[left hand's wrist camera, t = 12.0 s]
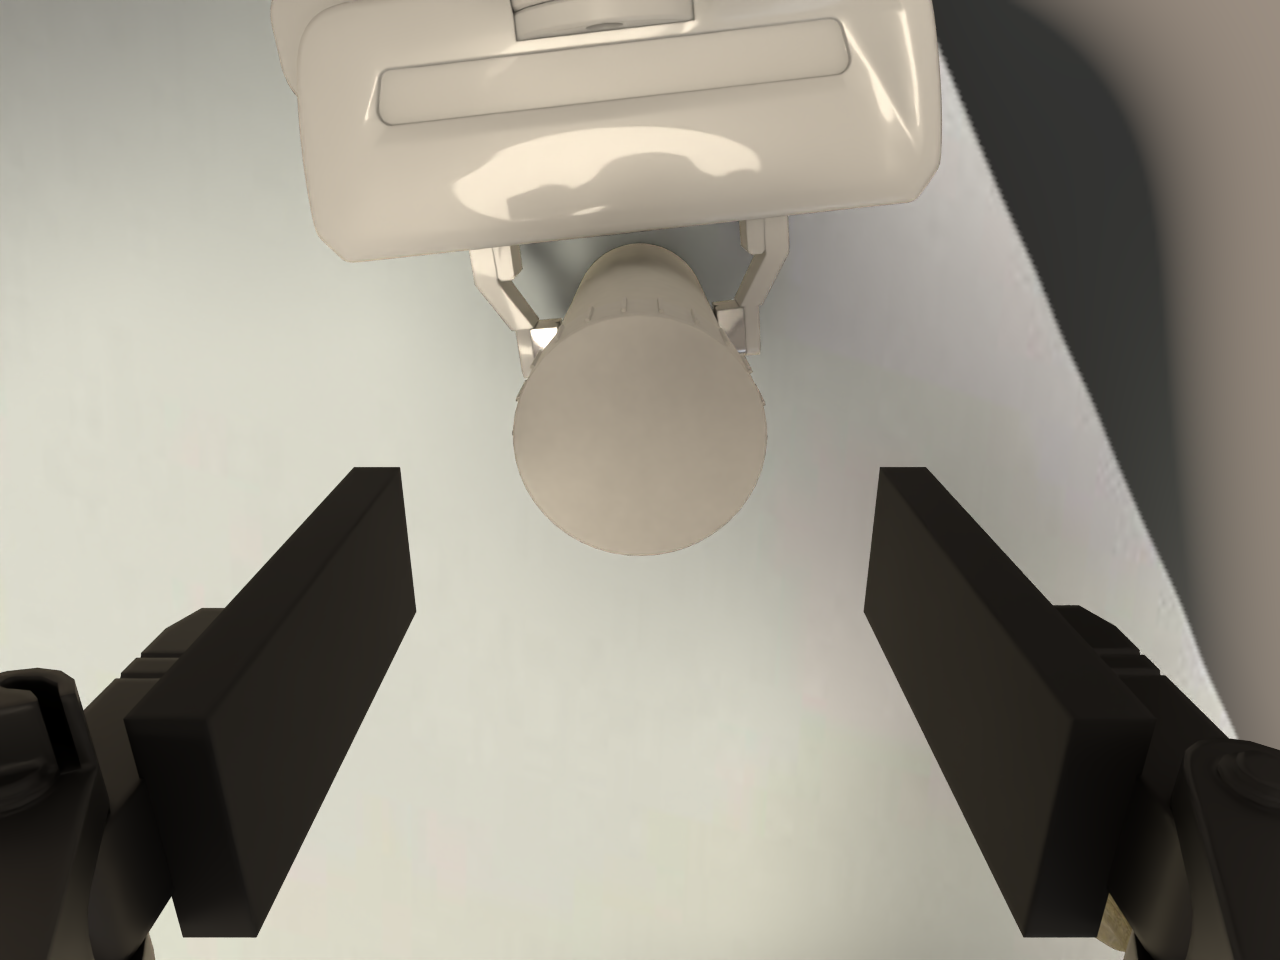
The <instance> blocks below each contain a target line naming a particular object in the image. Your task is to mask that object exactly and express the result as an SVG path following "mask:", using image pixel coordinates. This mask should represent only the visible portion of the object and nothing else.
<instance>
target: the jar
mask: <svg viewBox="0 0 1280 960" xmlns="http://www.w3.org/2000/svg"><path fill="white" fill-rule="evenodd" d="M622 297H627V300H632V299H647V300H658V298H662V300H663V302H668V303H672V304H675V305H678V306H681V307H684V308H686V309H688V310H691V308H694V309H696V312H697V314H699V315H700V316H702V317H703V318H705V319H706V320H708V321H709V322H711V323H712V324H713V325H714V326H716V327H717V328H718V329H719V328H720V326H719V324H718V322H717V320H716V318H715V315H714V313H713V311H712V309H711V307H710V305H709V303H708V300H707V298H706V296H705V294H704V292H703V290H702V288H701V285H700V283H699V281H698V279H697V277H696V275H695V274H694V272H693V271H692V269H691V268H690V267H689V266H688V265H687V263H686V262H685V261H684V260H682V259H681V258H680V257H679V256H677V255H676V254H674V253H673V252H671V251H669V250H667V249H665V248H662V247H659V246H656V245H651V244H642V243H637V244H628V245H624V246H620V247H618V248H615V249H613V250H611V251H609V252H607V253H605V254H604V255H603V256H601V257H600V258H599V259H598V260H596V261H595V262H594V263H593V264H592V266H591V267H590V268H589V269H588V271H587V272H586V274H585V275H584V277H583V279H582V281H581V283H580V285H579V287H578V290H577V292H576V294H575V296H574V298H573V300H572V302H571V305H570V307H569V309H568V311H567V313H566V315H565V317H564V320H563V322H562V324H563V325H564V326H565V325H567V324H568V323H569V322H571V321H572V320H574V319H575V318H576V317H578V316H580V315H582V314H584V313H585V312H587V310H588V308H589V307H591V306H593V308H596V307H599V306H602V305H605V304H608V303H612V302H617V301H621V300H622ZM562 324H561V325H562Z"/></svg>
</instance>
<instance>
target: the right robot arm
mask: <svg viewBox="0 0 1280 960" xmlns="http://www.w3.org/2000/svg"><path fill="white" fill-rule="evenodd" d="M271 24H272V28H273V33H274V37H275V41H276V45H277V50H278V54H279V58H280V63H281V67H282V70H283V73H284V75H285V78H286V80H287V83H288V84H289V86H290V88H291V89H292V91H293V92H294V94H295V95H296V96H297V98H298V115H299V128H300V138H301V148H302V157H303V165H304V172H305V178H306V185H307V191H308V197H309V202H310V208H311V213H312V218H313V223H314V226H315V230H316V232H317V234H318V236H319V237H320V239H321V240H322V241H323V242H324V243H325V244H326V245H327V246H328V247H330V248H331V249H332V250H333V251H334V252H335V253H336V254H337V255H338V256H339V257H340V258H342V259H343V260H344V261H346V262H350V263H354V262H365V261H374V260H383V259H392V258H401V257H411V256H420V255H429V254H438V253H448V252H457V251H466V250H469V254H470V259H471V265H472V271H473V277H474V282H475V286H476V287H477V288H478V289H479V291H480V292H481V293H482V294H483V296H484V297H485V298H486V299H487V301H488V302H489V303H490V304H491V306H492V307H493V308H494V309H495V311H496V312H497V313H498V314H499V316H500V317H501V318H502V319H503V321H504V322H505V323H506V324H507V326H508V327H509V328H510V329H511V331H516V337H517V343H518V349H519V356H520V362H521V368H522V373H523V375H524V378H528V377H529V375H530V373H531V371H532V369H530V366H531V364H532V362H533V360H534V358H535V356H536V354H537V352H538V351H539V350H541V351H543V349H544V348H545V347H546V345H547V344H548V343H549V342H550V340H551V339H552V338H553V337H554V336H555V335H556V333H557V330H558V328H559V326H560V325H561V324H562V319H561V318H555V319H543V320H539V317H538V316H537V315H536V313H535V312H534V311H533V309H532V308H531V307H530V305H529V304H528V303H527V301H526V300H525V298H524V297H523V296H522V294H521V293H520V292H519V290H518V289H517V288H516V286H515V285H514V284H513V282H512V281H511V280H513V279H514V278H515V277H516V276H517V275H518V274H519V273H520V272H521V270H522V269H523V268H522V261H521V253H520V246H519V245H521V244H531V243H540V242H549V241H558V240H568V239H577V238H586V237H595V236H604V235H614V234H623V233H632V232H641V231H651V230H660V229H669V228H678V227H688V226H697V225H706V224H715V223H724V222H734V221H739V228H740V241H741V246H742V247H743V248H744V249H745V250H746V251H747V252H749V253H750V254H751V255H754V257H753V259H752V261H751V263H750V265H749V267H748V269H747V272H746V274H745V276H744V278H743V280H742V282H741V284H740V287H739V289H738V291H737V293H736V295H735V297H734V298H735V299H733V300H725V301H718V302H712V305H713V313H714V315H715V318H716V320H717V322H718V324H719V326H720V327H722V328H723V329H724V331H725V333H726V335H727V337H728V339H729V340H730V341H731V343H732V344H733V345H734V347H735V348H736V350H737V351H738V353H739V354H742V353H743V354H744V356H748V355H759V354H760V347H761V342H760V323H759V305H762V304H763V302H764V300H765V298H766V297H767V295H768V293H769V291H770V289H771V287H772V285H773V283H774V281H775V279H776V277H777V275H778V273H779V271H780V269H781V267H782V265H783V263H784V261H785V259H786V257H787V255H788V253H789V228H788V216H789V215H798V214H807V213H817V212H826V211H835V210H844V209H854V208H863V207H872V206H881V205H890V204H899V203H908V202H912V201H914V200H915V199H917V198H918V197H919V195H920V194H921V193H922V192H923V190H924V189H925V187H926V186H927V185H928V183H929V182H930V180H931V179H932V177H933V176H934V174H935V173H936V171H937V169H938V167H939V164H940V159H941V144H942V106H941V82H940V67H939V54H938V44H937V35H936V26H935V18H934V11H933V5H932V0H272V2H271Z"/></svg>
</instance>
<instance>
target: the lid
mask: <svg viewBox="0 0 1280 960" xmlns="http://www.w3.org/2000/svg"><path fill="white" fill-rule="evenodd" d="M530 369H532V371H531V373H530V375H529V377H528V379H527V380H525V382H524V384H523V386H522V388H521V390H520V392H519V394H518V395H517V398H516V401H518V404H517V408H516V411H515V418H514V426H513V431H512V435H513V445H514V452H515V459H516V463H517V466H518V470H519V473H520V476H521V478H522V480H523V483H524V485H525V487H526V489H527V491H528V493H529V494H530V496H531V497H532V499H533V501H534V502H535V504H536V505H537V506H538V507H539V509H540V510H541V511H542V512H543V514H544V515H545V516H546V517H547V518H549V519H550V520H551V521H552V522H553V523H554V524H555V525H556V526H557V527H559V528H560V529H561V530H563V531H564V532H565V533H567V534H568V535H570V536H571V537H573V538H575V539H577V540H578V541H580V542H582V543H584V544H587V545H589V546H592V547H594V548H596V549H600V550H603V551H607V552H610V553H616V554H622V555H634V556H647V555H659V554H664V553H669V552H674V551H677V550H680V549H683V548H686V547H689V546H691V545H693V544H695V543H698V542H700V541H702V540H704V539H705V538H707V537H709V536H710V535H712V534H713V533H715V532H716V531H718V530H719V529H720V528H721V527H723V526H724V525H725V524H726V523H728V522H729V521H730V520H731V519H732V518H733V516H734V515H735V514H736V513H737V512H738V511H739V510H740V509H741V507H742V506H743V505H744V503H745V502H746V501H747V499H748V498H749V496H750V494H751V492H752V491H753V489H754V487H755V485H756V483H757V480H758V478H759V475H760V473H761V470H762V466H763V462H764V458H765V453H766V444H767V424H766V418H765V412H764V407H763V406H764V405H765V401H764V399H763V397H762V395H761V393H760V392H759V390H758V388H757V386H756V384H755V383H754V381H753V379H752V377H751V375H750V373H752V372H753V371H752V369H751V367H750V365H749V363H748V362H747V360H746V358H745V356H744V354H743V353H742V354H739V353H738V351H737V350H736V348H735V347H734V345H733V344H732V343H731V341H730V340H729V339H728V337H727V335H726V333H725V331H724V329H723V328H722V327H720V328H719V329H718V328H717V327H716V326H714V325H713V324H712V323H711V322H709V321H708V320H706V319H705V318H703V317H702V316H700V315H699V314H697V312H696V309H694V308H691V310H688V309H686V308H684V307H681V306H678V305H675V304H672V303H668V302H663V300H662V298H658V300H647V299H632V300H627V297H622V300H621V301H617V302H612V303H608V304H605V305H602V306H599V307H596V308H593V306H591V307H589V308H588V310H587V312H585V313H584V314H582V315H580V316H578V317H576V318H575V319H574V320H572V321H571V322H569V323H568V324H567V325H565V326H564V325H563V324H562V325H560V326H559V328H558V330H557V333H556V335H555V336H554V337H553V338H552V339H551V340H550V342H549V343H548V344H547V345H546V347H545V348H544V349H543V351H541V350H539V351H538V352H537V354H536V356H535V358H534V360H533V362H532V364H531V366H530Z"/></svg>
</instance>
